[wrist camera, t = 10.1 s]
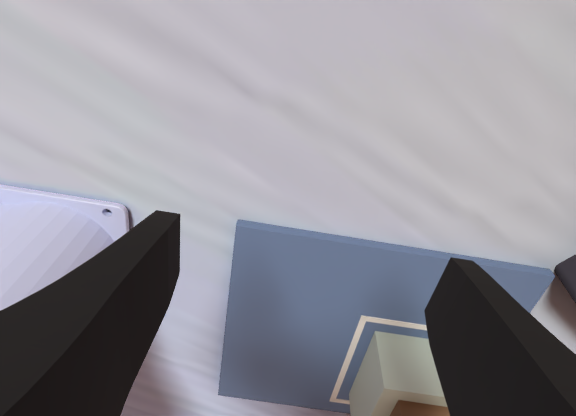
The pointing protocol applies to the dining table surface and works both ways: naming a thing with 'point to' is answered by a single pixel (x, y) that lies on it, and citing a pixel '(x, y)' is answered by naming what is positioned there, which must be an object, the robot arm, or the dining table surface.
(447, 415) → the walnut block
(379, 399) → the sage base block
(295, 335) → the board
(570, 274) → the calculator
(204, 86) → the dining table surface
